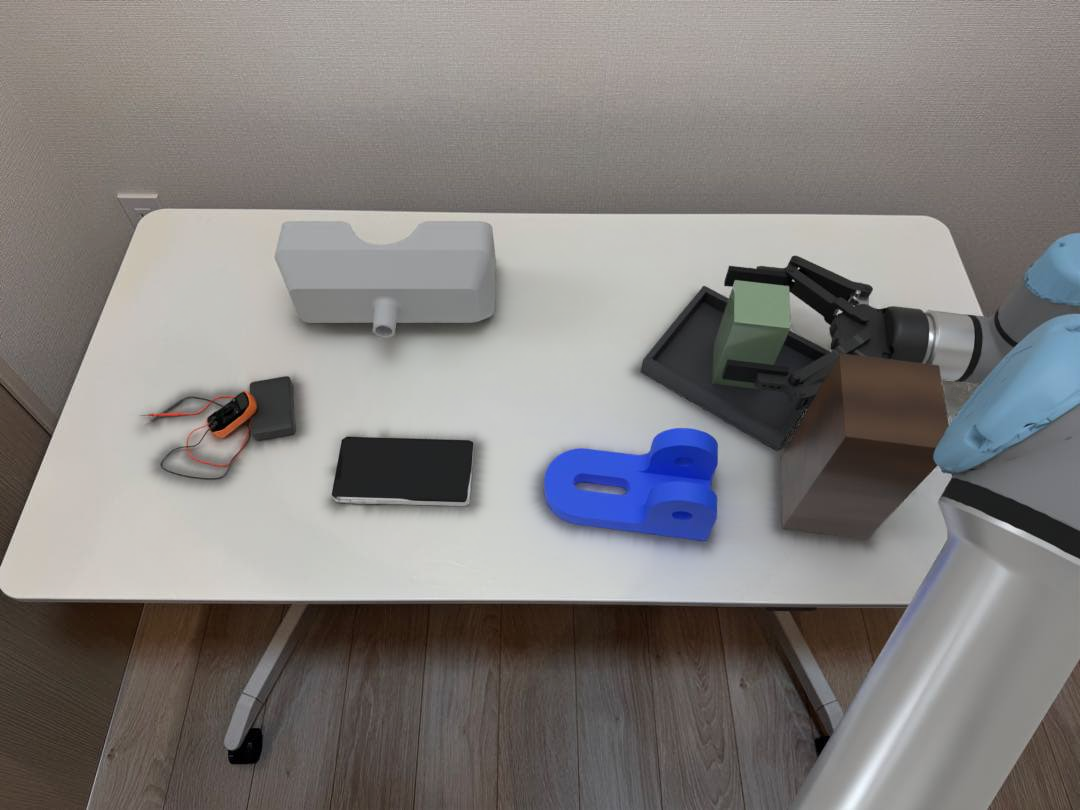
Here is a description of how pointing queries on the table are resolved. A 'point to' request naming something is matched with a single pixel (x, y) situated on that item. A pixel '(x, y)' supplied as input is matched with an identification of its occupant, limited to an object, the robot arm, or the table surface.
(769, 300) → the green block
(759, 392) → the tray
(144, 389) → the table surface
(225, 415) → the multimeter
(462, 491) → the smartphone
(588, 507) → the bracket
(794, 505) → the stand
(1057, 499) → the robot arm
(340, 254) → the tank
